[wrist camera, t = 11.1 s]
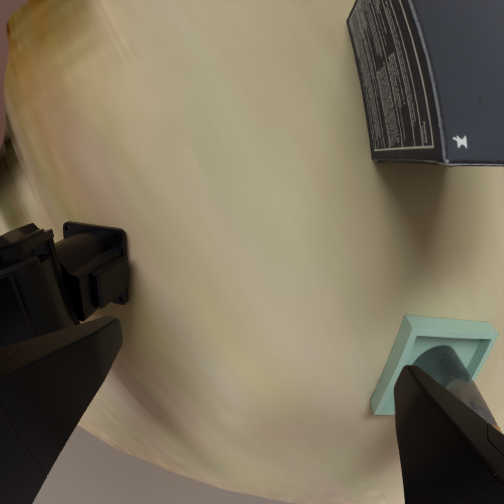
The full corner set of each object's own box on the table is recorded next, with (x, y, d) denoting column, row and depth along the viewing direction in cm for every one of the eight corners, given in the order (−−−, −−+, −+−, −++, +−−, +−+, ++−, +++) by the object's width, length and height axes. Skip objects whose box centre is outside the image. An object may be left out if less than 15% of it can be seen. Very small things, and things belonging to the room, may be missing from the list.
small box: (453, 160, 17) (553, 174, 7) (370, 163, 18) (439, 173, 8) (426, 23, 14) (495, -40, 4) (343, 18, 15) (372, -71, 5)
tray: (370, 399, 24) (373, 414, 22) (405, 314, 21) (412, 327, 19) (449, 399, 23) (455, 412, 21) (488, 321, 20) (498, 333, 18)
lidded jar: (408, 394, 23) (439, 504, 11) (407, 355, 21) (451, 475, 10) (455, 377, 22) (501, 477, 10) (458, 337, 20) (521, 441, 9)
